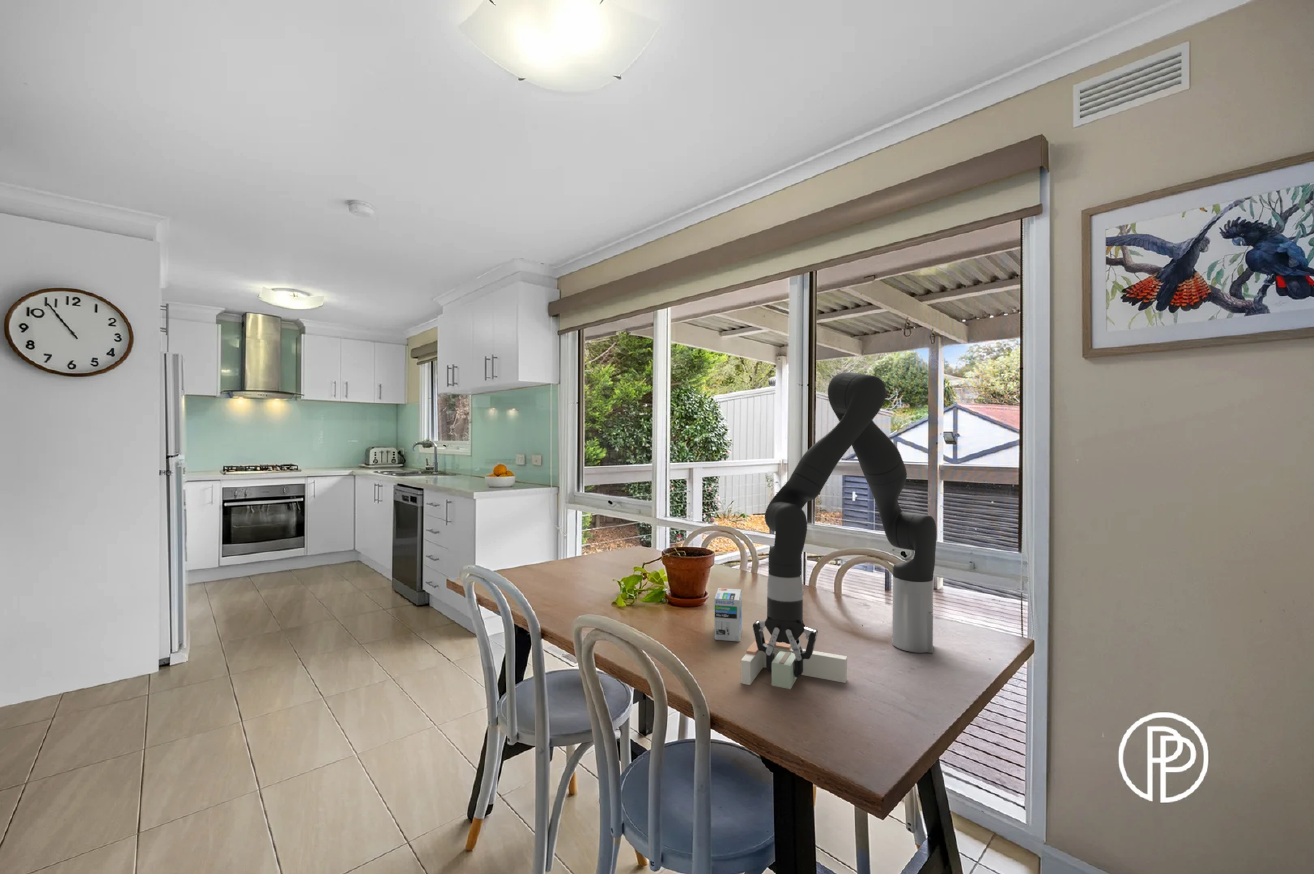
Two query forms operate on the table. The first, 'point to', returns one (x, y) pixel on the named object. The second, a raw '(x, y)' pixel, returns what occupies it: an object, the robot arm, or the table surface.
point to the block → (783, 670)
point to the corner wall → (815, 666)
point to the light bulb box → (728, 614)
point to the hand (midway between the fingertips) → (784, 673)
